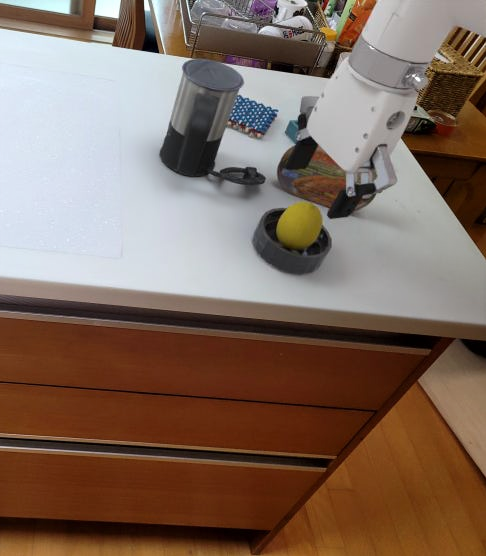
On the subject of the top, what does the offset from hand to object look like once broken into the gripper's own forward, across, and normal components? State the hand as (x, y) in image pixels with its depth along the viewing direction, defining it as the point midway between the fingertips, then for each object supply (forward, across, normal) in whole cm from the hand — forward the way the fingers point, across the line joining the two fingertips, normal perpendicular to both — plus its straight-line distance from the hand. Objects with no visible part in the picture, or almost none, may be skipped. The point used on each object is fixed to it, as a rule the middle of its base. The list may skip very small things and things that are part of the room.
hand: (315, 191), depth 70 cm
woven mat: (+11, +33, -11) cm, 36 cm away
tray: (+10, +22, -24) cm, 34 cm away
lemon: (+10, 0, 0) cm, 10 cm away
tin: (+10, +10, -12) cm, 19 cm away
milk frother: (+11, +19, +3) cm, 22 cm away
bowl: (+10, 0, 0) cm, 10 cm away
